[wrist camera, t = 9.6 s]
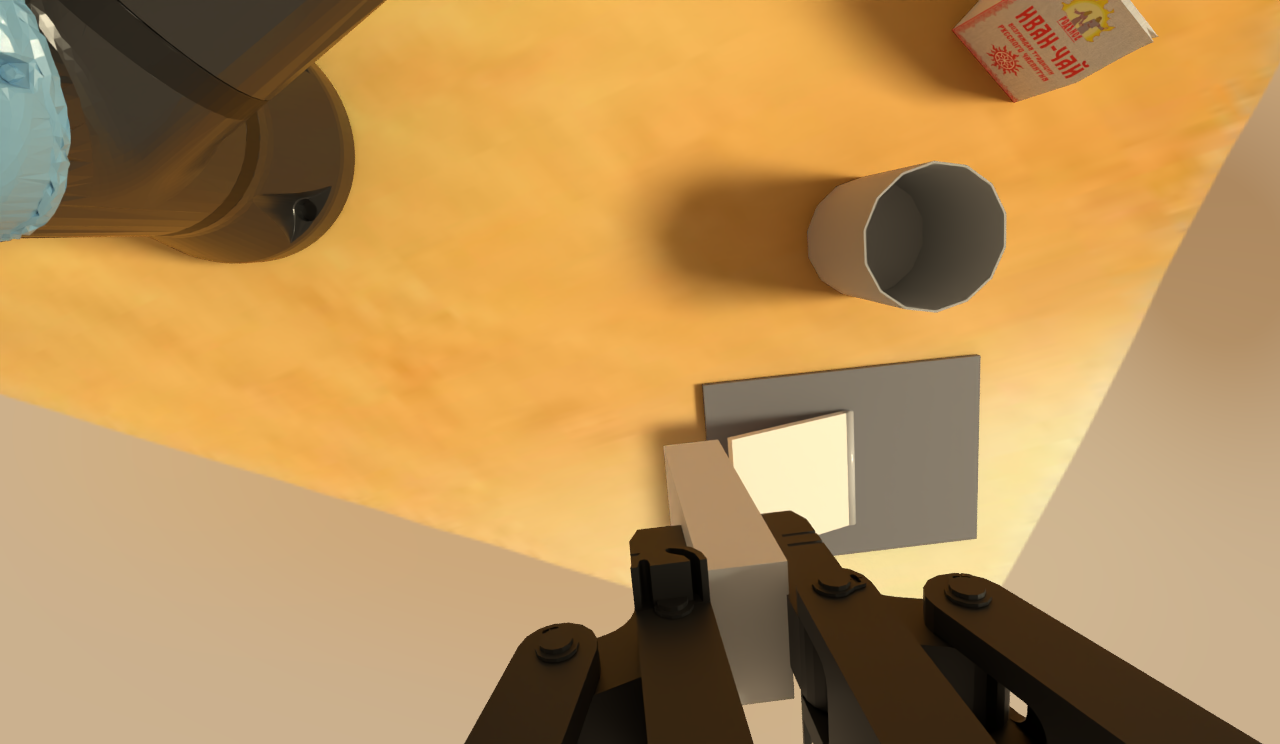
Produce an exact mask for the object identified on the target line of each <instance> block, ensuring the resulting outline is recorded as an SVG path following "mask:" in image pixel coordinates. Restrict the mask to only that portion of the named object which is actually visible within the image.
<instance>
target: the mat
mask: <svg viewBox="0 0 1280 744" xmlns="http://www.w3.org/2000/svg"><path fill="white" fill-rule="evenodd" d="M702 388H703V401H704V414H705V427H706V440H707V441H709V440H719V442H720V444H721V446H722V447H723V449H724V451H725V453H726V454H727V456H728V458H729V452H728V437H733V436H737V435H741V434H746V433H750V432H754V431H758V430H763V429H767V428H771V427H776V426H780V425H784V424H789V423H793V422H797V421H801V420H806V419H810V418H814V417H819V416H823V415H827V414H832V413H836V412H840V411H842V410H853V413H854V456H855V498H856V524H855V525H848V526H845V527H842V528H838V529H835V530H832V531H829V532H826V533H822V534H819V537H820V538H821V539H822V543H823V542H824V544H825V545H826V546H827V548H828V549H829V550H830V552H831V553H832V555H833V556H835V555H844V554H852V553H860V552H869V551H877V550H886V549H894V548H902V547H911V546H919V545H927V544H936V543H944V542H953V541H961V540H969V539H977V493H978V446H979V399H980V355H977V354H976V355H967V356H958V357H949V358H939V359H930V360H921V361H912V362H902V363H893V364H884V365H875V366H865V367H856V368H847V369H838V370H828V371H819V372H810V373H801V374H791V375H782V376H773V377H763V378H754V379H745V380H736V381H726V382H717V383H708V384H702Z"/></svg>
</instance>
